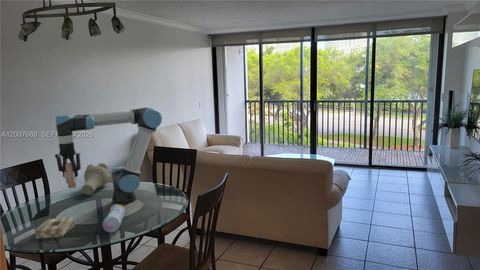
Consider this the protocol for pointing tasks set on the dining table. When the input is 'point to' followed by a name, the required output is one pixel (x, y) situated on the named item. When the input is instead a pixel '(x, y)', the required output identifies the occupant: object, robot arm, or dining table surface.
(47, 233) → the socket block
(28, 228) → the dining table surface
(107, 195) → the dining table surface
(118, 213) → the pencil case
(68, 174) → the peg
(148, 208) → the dining table surface
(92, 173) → the vase
